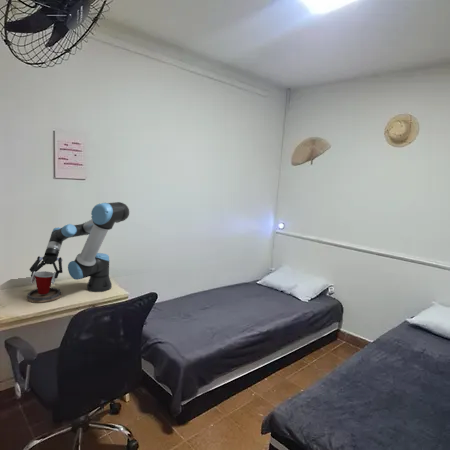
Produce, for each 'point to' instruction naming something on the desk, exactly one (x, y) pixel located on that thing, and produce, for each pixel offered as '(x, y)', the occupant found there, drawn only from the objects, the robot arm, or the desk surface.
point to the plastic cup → (43, 281)
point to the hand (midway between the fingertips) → (42, 282)
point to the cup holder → (44, 296)
